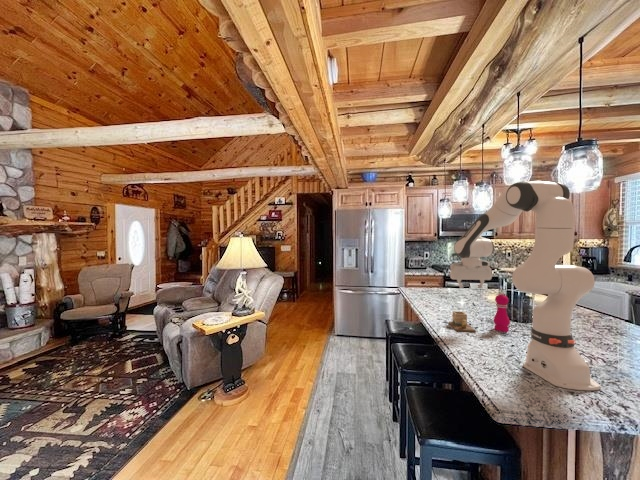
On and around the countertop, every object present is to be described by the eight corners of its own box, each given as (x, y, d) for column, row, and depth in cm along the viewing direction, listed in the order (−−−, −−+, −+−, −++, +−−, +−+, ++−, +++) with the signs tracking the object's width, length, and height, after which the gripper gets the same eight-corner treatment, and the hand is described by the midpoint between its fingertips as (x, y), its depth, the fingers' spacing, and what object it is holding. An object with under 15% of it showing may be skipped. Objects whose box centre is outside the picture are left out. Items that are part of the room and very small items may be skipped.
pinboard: (475, 332, 146) (475, 322, 146) (457, 331, 148) (457, 322, 148) (465, 323, 160) (465, 315, 160) (448, 323, 162) (448, 314, 162)
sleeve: (466, 325, 154) (466, 314, 154) (455, 325, 155) (455, 314, 155) (463, 322, 160) (463, 311, 160) (452, 321, 161) (452, 311, 161)
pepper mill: (505, 327, 154) (505, 290, 153) (512, 332, 146) (513, 293, 146) (490, 327, 154) (491, 290, 154) (497, 331, 147) (498, 293, 147)
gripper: (452, 262, 152) (452, 288, 151) (493, 262, 149) (493, 289, 149) (448, 261, 158) (448, 286, 158) (487, 262, 155) (487, 287, 155)
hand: (470, 288), depth 153 cm, fingers open, 8 cm apart
